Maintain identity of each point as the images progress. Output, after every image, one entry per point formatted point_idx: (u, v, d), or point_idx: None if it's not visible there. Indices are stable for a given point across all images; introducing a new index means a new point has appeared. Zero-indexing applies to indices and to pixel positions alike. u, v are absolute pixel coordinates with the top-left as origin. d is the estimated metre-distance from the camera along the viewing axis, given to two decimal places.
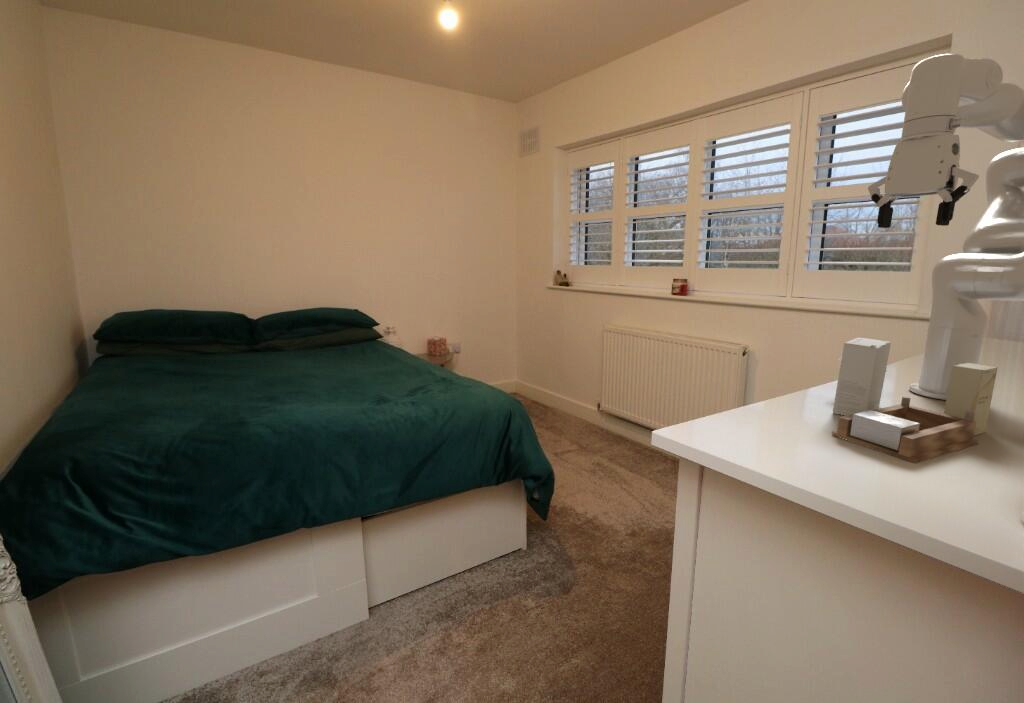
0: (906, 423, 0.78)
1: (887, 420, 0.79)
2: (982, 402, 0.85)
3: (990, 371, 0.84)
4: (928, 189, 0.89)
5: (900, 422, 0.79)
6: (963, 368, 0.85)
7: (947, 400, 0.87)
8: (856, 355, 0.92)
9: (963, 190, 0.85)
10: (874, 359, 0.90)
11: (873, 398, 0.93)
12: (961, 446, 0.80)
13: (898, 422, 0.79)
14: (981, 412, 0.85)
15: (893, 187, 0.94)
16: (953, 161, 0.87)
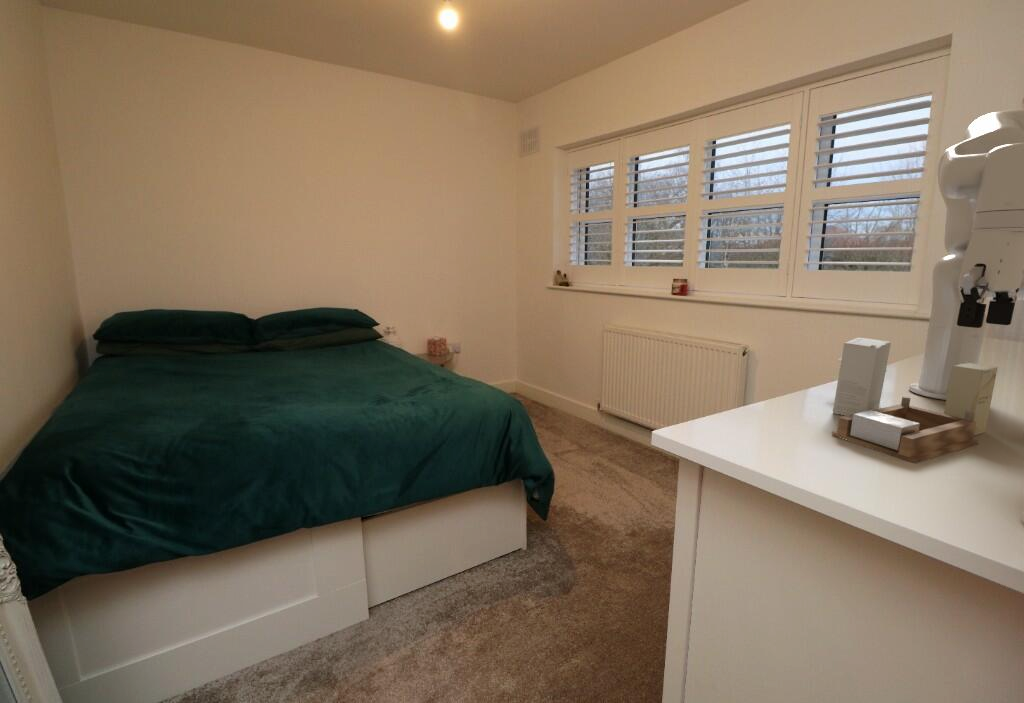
0: (906, 423, 0.78)
1: (887, 420, 0.79)
2: (982, 402, 0.85)
3: (990, 371, 0.84)
4: (1014, 288, 0.82)
5: (900, 422, 0.79)
6: (963, 368, 0.85)
7: (947, 400, 0.87)
8: (856, 355, 0.92)
9: None
10: (874, 359, 0.90)
11: (873, 398, 0.93)
12: (961, 446, 0.80)
13: (898, 422, 0.79)
14: (981, 412, 0.85)
15: (999, 283, 0.79)
16: None
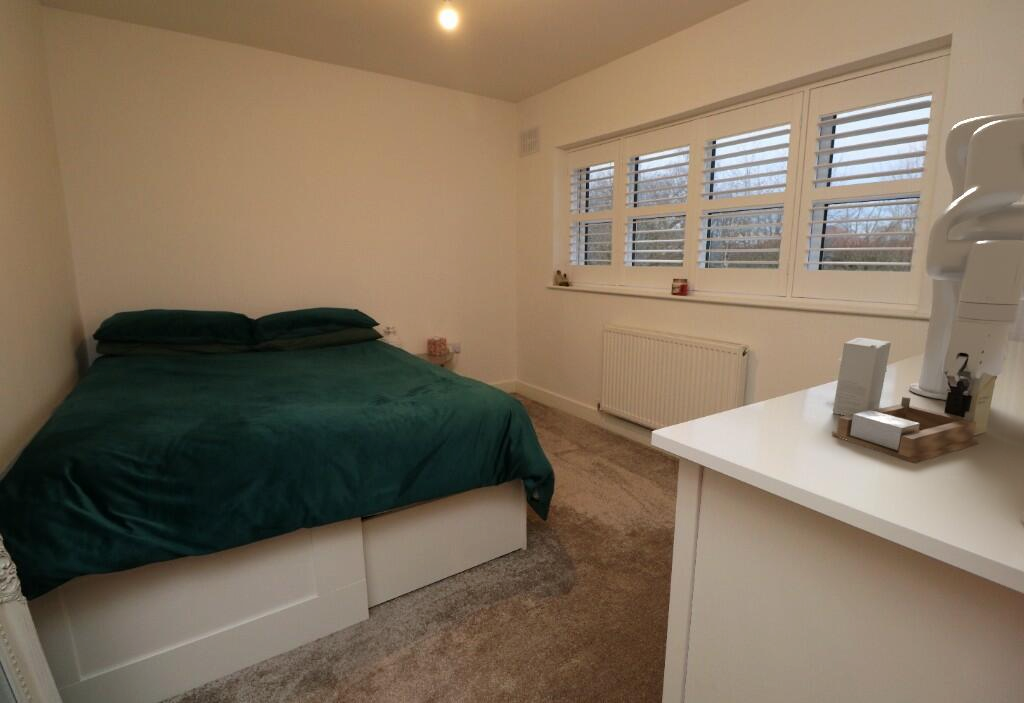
0: (906, 423, 0.78)
1: (887, 420, 0.79)
2: (982, 402, 0.85)
3: None
4: (996, 374, 0.85)
5: (900, 422, 0.79)
6: None
7: None
8: (856, 355, 0.92)
9: None
10: (875, 359, 0.90)
11: (873, 398, 0.93)
12: (961, 446, 0.80)
13: (898, 422, 0.79)
14: (982, 412, 0.85)
15: (981, 372, 0.82)
16: None
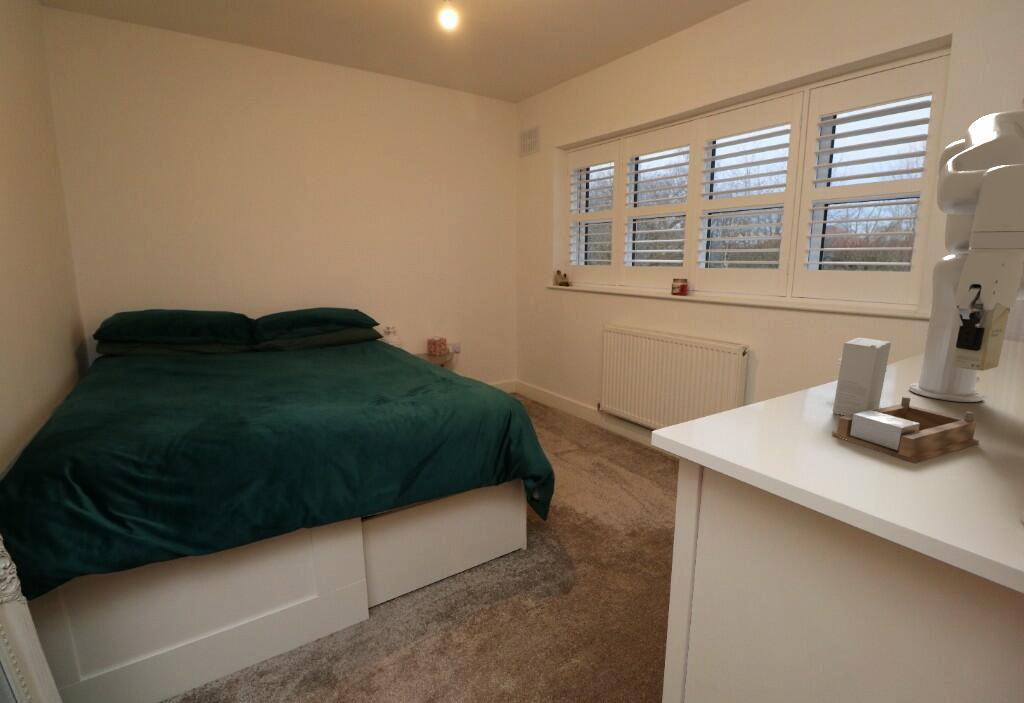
0: (906, 423, 0.78)
1: (887, 420, 0.79)
2: (995, 335, 0.83)
3: None
4: (1009, 306, 0.83)
5: (900, 422, 0.79)
6: None
7: None
8: (856, 355, 0.92)
9: None
10: (874, 359, 0.90)
11: (873, 398, 0.93)
12: (961, 446, 0.80)
13: (898, 422, 0.79)
14: (994, 346, 0.83)
15: (994, 303, 0.80)
16: None
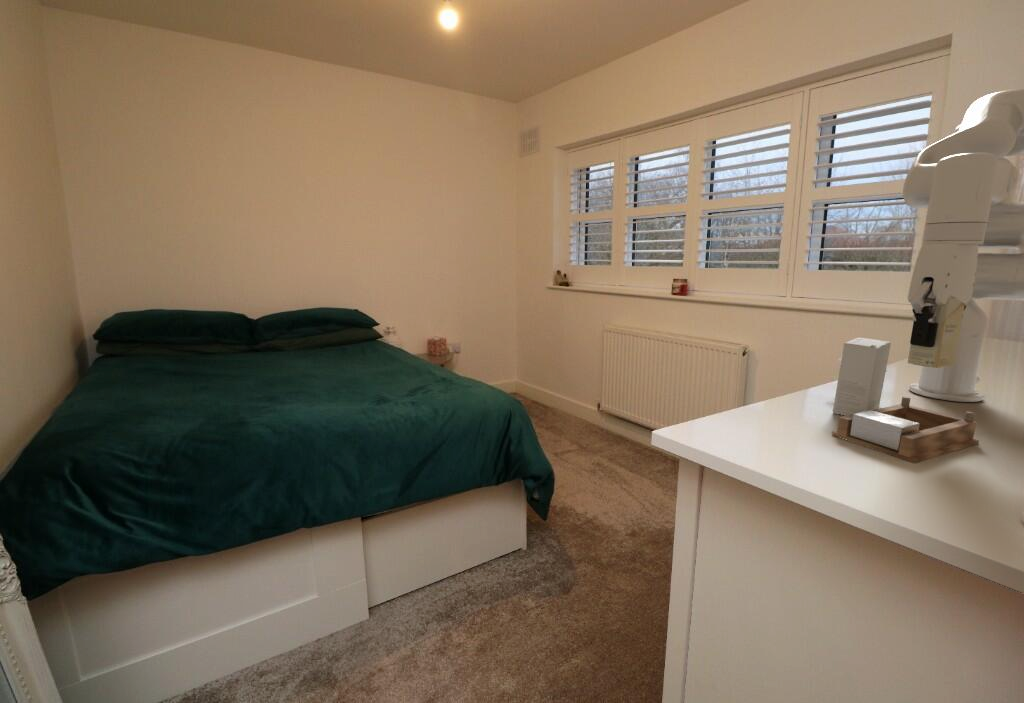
0: (906, 423, 0.78)
1: (887, 420, 0.79)
2: (950, 331, 0.79)
3: None
4: (964, 302, 0.80)
5: (900, 422, 0.79)
6: None
7: None
8: (856, 355, 0.92)
9: None
10: (874, 359, 0.90)
11: (873, 398, 0.93)
12: (961, 446, 0.80)
13: (898, 422, 0.79)
14: (949, 342, 0.80)
15: (947, 297, 0.77)
16: None
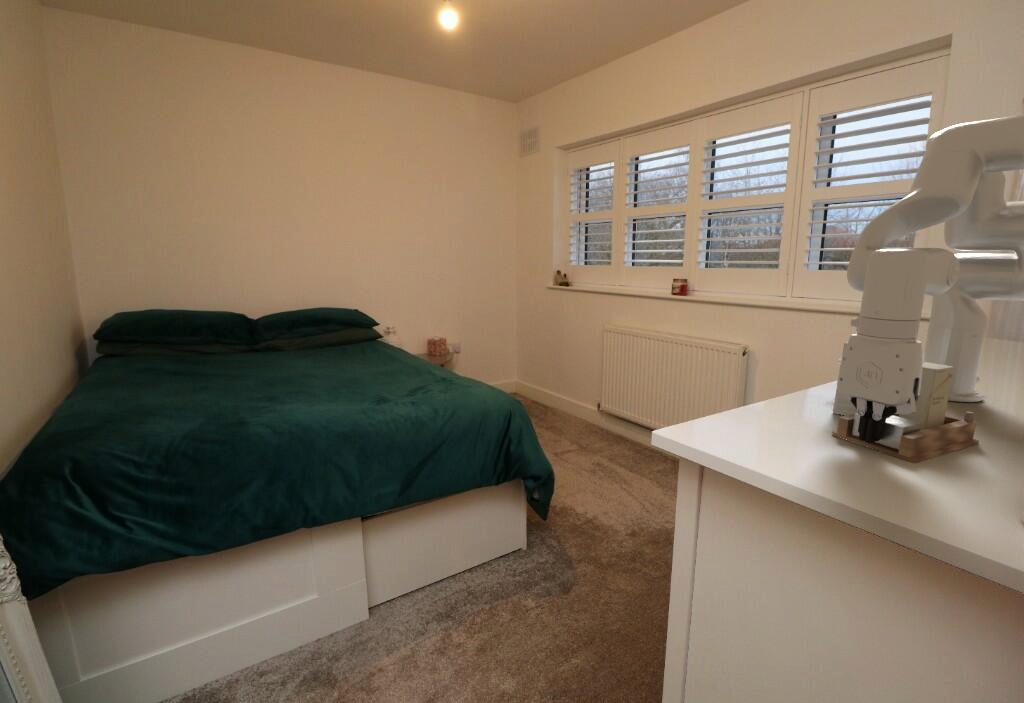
0: (907, 423, 0.78)
1: (889, 420, 0.79)
2: (937, 403, 0.82)
3: (944, 371, 0.81)
4: None
5: (902, 421, 0.79)
6: None
7: None
8: None
9: None
10: None
11: None
12: (961, 446, 0.80)
13: (900, 421, 0.79)
14: (937, 413, 0.83)
15: None
16: None
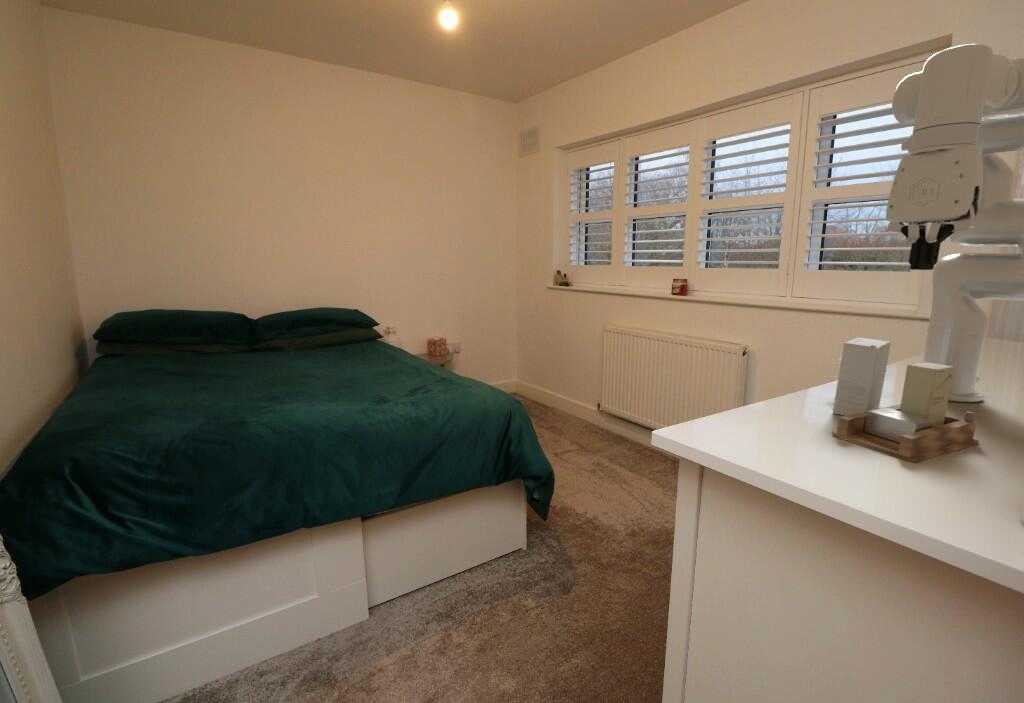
0: (920, 420, 0.79)
1: (901, 417, 0.81)
2: (937, 403, 0.82)
3: (944, 371, 0.81)
4: None
5: (914, 418, 0.80)
6: (917, 367, 0.82)
7: (902, 400, 0.85)
8: (856, 355, 0.92)
9: None
10: (874, 359, 0.90)
11: (873, 398, 0.93)
12: (961, 446, 0.80)
13: (912, 418, 0.80)
14: (937, 413, 0.83)
15: None
16: None
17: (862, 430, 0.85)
